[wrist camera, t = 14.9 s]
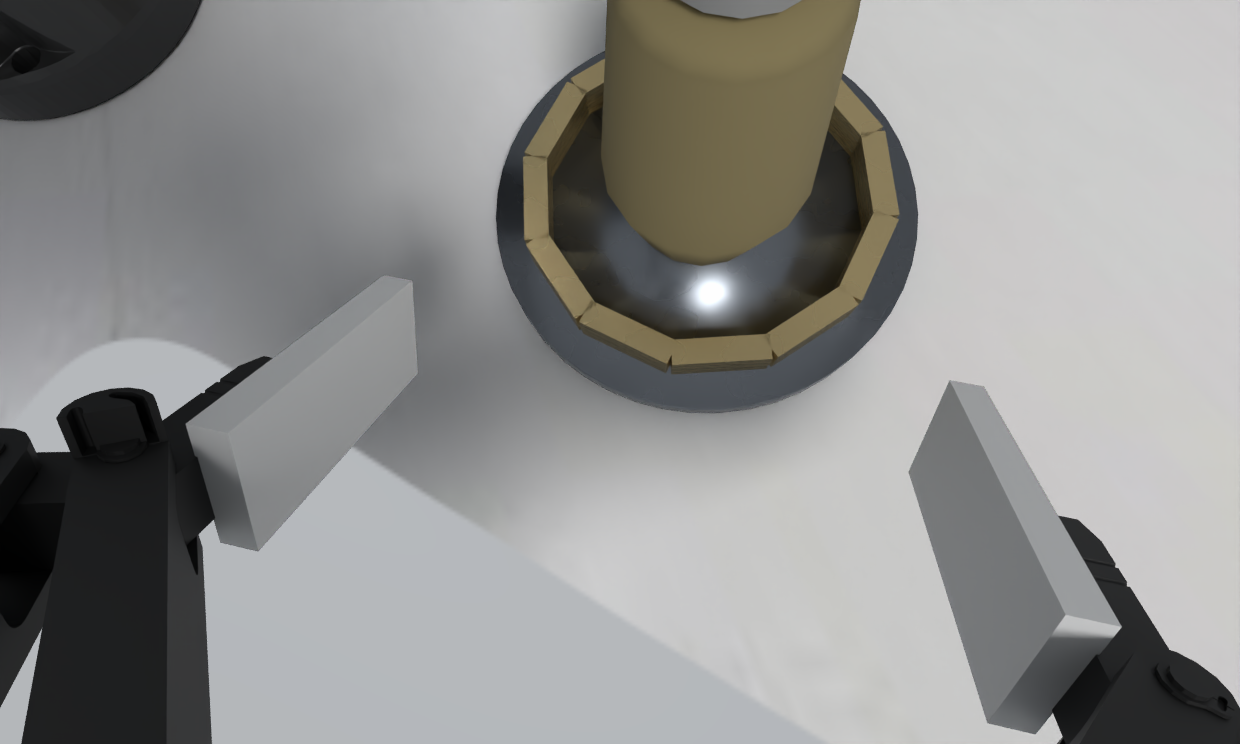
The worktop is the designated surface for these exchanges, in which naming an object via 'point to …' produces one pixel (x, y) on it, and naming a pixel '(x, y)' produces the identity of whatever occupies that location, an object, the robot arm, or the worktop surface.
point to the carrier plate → (711, 294)
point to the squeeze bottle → (718, 116)
